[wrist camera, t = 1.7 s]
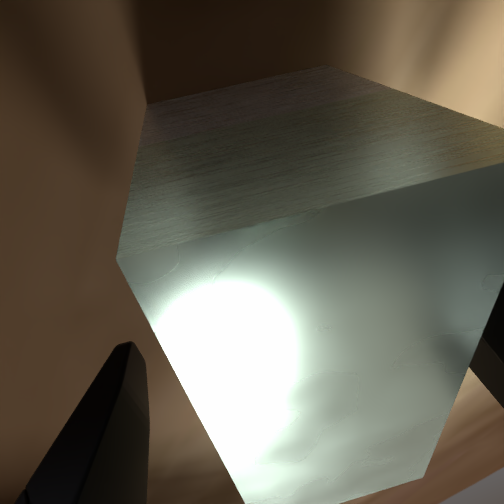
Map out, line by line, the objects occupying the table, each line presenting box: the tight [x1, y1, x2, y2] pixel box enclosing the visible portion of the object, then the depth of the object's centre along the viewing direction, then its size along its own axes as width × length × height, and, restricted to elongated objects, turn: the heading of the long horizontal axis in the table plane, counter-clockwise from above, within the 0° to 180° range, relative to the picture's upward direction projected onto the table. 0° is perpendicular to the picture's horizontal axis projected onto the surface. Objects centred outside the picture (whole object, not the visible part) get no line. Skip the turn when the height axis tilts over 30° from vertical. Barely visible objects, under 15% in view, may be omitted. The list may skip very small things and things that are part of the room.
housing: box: [116, 65, 504, 504], centre depth 9 cm, size 5×10×7 cm, turn 9°
